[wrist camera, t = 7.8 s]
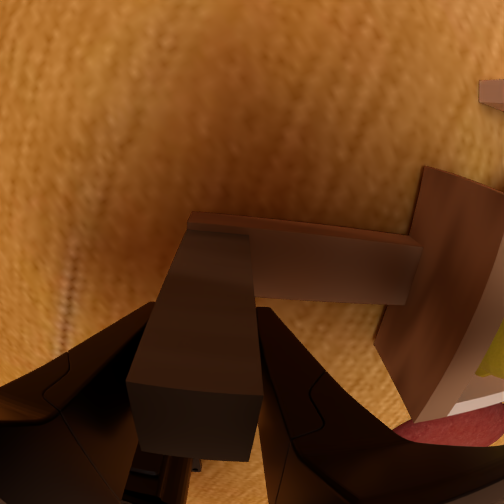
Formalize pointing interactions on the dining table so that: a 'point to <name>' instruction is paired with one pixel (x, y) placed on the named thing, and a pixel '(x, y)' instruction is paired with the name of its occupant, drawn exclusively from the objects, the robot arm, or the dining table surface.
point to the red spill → (458, 428)
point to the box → (479, 388)
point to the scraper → (317, 289)
